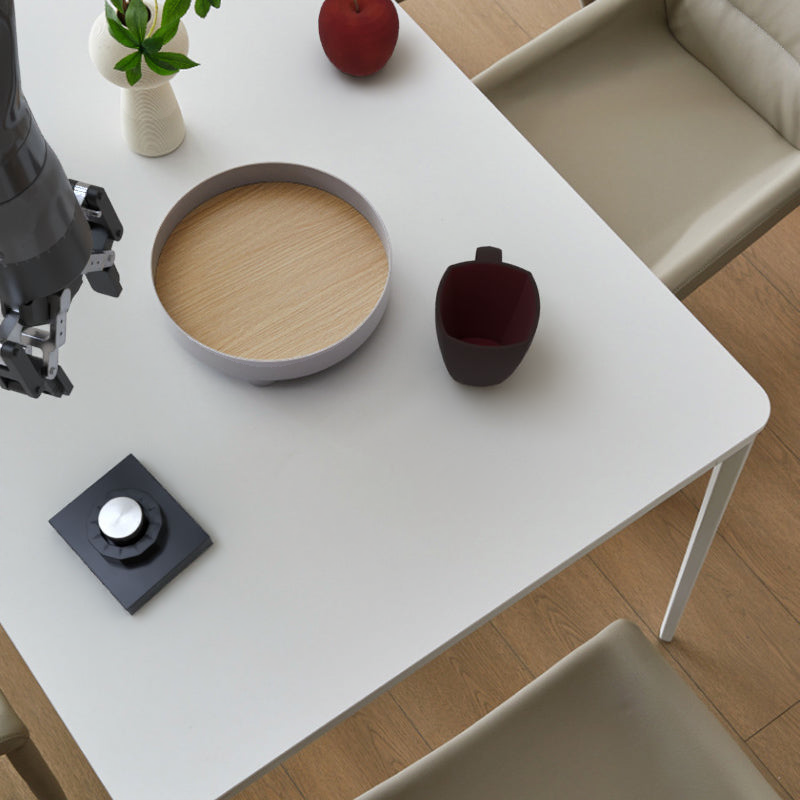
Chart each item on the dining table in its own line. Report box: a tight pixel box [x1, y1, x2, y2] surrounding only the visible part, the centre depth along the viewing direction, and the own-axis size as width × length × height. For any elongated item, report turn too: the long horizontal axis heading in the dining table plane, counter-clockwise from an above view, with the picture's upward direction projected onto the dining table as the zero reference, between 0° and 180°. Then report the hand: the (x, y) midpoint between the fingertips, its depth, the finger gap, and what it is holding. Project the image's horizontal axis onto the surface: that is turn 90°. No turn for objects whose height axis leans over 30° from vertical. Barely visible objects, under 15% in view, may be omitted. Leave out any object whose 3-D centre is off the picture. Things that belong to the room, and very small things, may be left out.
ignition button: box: [98, 497, 147, 545], centre depth 94 cm, size 4×4×2 cm
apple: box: [317, 0, 400, 77], centre depth 119 cm, size 10×10×10 cm
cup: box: [434, 245, 541, 388], centre depth 102 cm, size 10×14×12 cm
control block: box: [47, 452, 214, 616], centre depth 96 cm, size 12×10×4 cm
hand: (84, 339), depth 75 cm, fingers open, 8 cm apart
